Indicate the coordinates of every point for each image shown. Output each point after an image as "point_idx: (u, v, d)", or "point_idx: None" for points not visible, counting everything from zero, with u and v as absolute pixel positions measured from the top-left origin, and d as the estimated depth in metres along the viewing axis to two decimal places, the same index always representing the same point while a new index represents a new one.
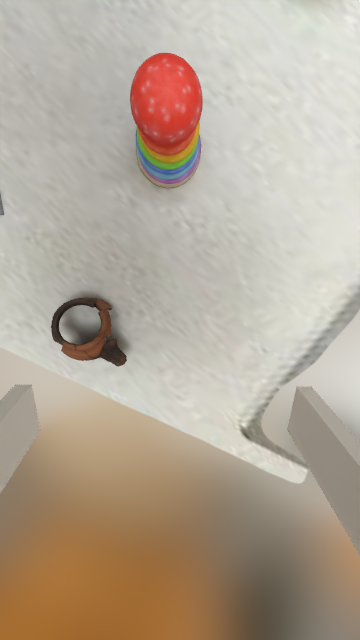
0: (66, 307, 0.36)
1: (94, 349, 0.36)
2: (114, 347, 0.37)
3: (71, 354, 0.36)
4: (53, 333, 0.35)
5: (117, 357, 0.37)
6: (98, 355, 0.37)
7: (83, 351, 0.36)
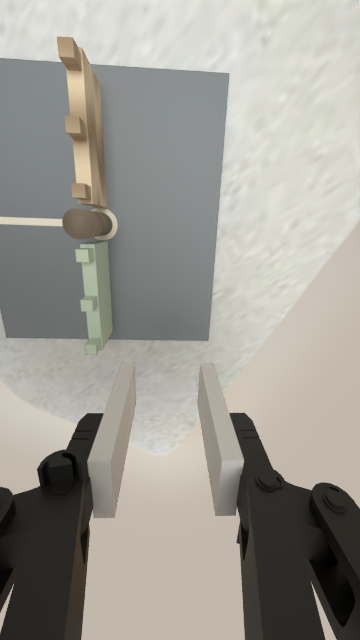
0: None
1: None
2: None
3: None
4: None
5: None
6: None
7: None
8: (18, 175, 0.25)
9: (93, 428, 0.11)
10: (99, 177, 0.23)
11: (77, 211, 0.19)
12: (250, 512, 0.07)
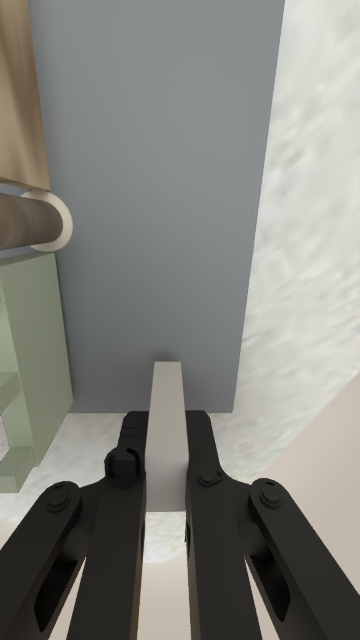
0: None
1: None
2: None
3: None
4: None
5: None
6: None
7: None
8: None
9: (139, 425, 0.11)
10: (19, 121, 0.11)
11: None
12: (191, 511, 0.07)
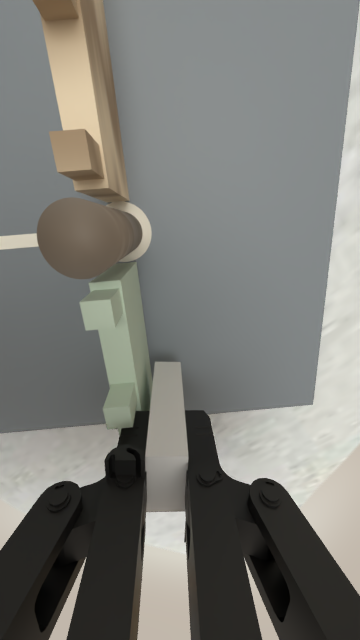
0: None
1: None
2: None
3: None
4: None
5: None
6: None
7: None
8: None
9: (139, 425, 0.11)
10: (113, 134, 0.11)
11: (75, 204, 0.07)
12: (190, 511, 0.07)
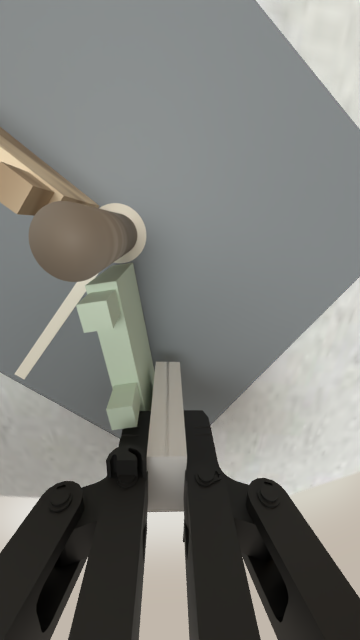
0: None
1: None
2: None
3: None
4: None
5: None
6: None
7: None
8: None
9: (140, 425, 0.11)
10: (39, 164, 0.11)
11: (41, 217, 0.07)
12: (189, 511, 0.07)
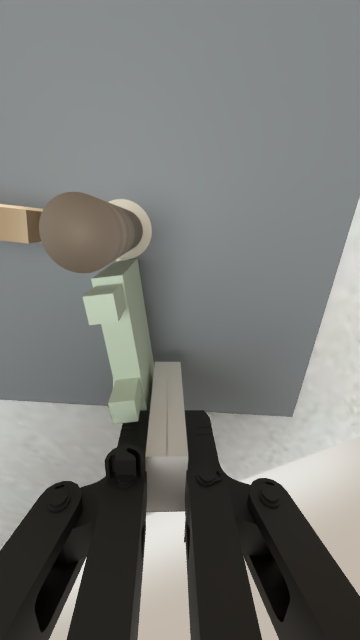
0: None
1: None
2: None
3: None
4: None
5: None
6: None
7: None
8: (54, 347, 0.17)
9: (139, 425, 0.11)
10: None
11: (45, 225, 0.07)
12: (190, 511, 0.07)
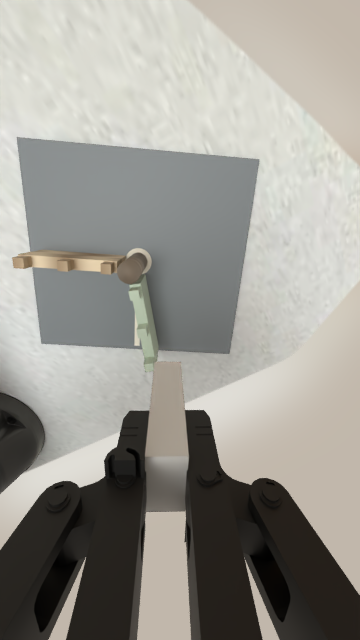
0: None
1: None
2: None
3: None
4: None
5: None
6: None
7: None
8: (106, 317, 0.35)
9: (139, 425, 0.11)
10: (101, 256, 0.30)
11: (118, 270, 0.25)
12: (191, 511, 0.07)
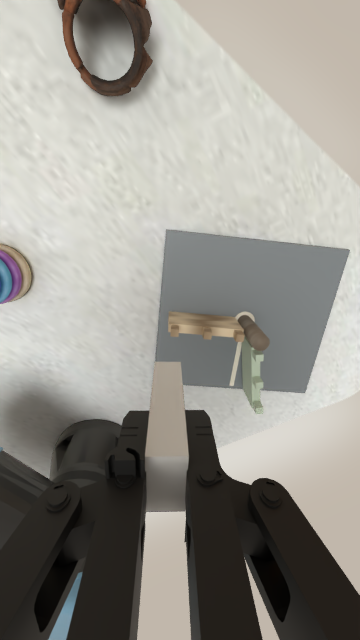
0: (125, 75, 0.26)
1: None
2: None
3: None
4: (136, 23, 0.24)
5: None
6: None
7: None
8: (210, 363, 0.42)
9: (139, 425, 0.11)
10: (222, 321, 0.37)
11: (254, 341, 0.33)
12: (191, 511, 0.07)
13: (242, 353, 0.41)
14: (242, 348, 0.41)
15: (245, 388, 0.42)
